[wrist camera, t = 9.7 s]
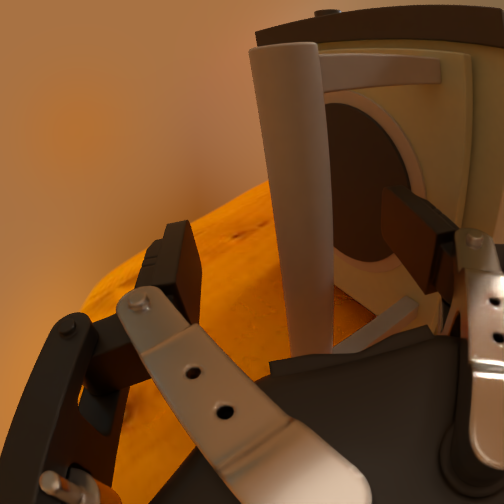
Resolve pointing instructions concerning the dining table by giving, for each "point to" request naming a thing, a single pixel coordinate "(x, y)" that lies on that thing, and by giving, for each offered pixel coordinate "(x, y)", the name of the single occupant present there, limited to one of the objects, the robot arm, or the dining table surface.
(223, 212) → the dining table surface
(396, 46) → the washer
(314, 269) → the washer door
